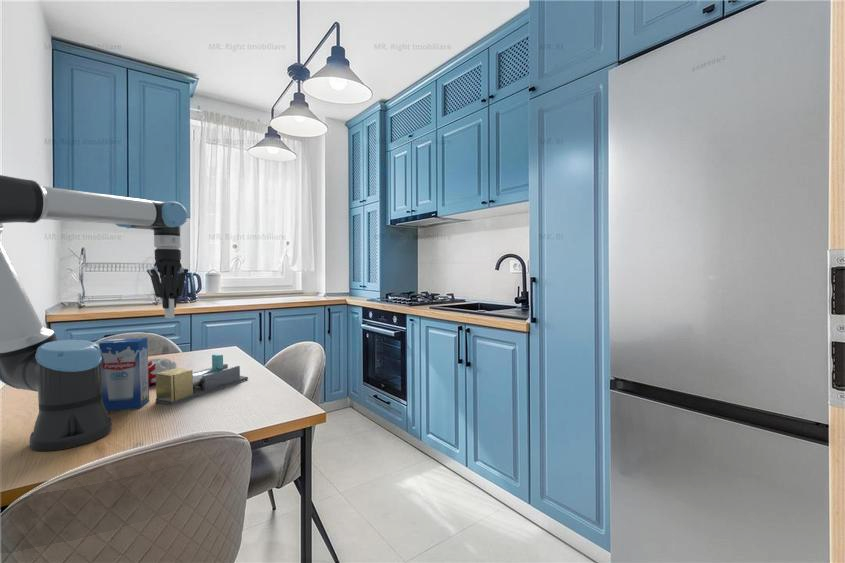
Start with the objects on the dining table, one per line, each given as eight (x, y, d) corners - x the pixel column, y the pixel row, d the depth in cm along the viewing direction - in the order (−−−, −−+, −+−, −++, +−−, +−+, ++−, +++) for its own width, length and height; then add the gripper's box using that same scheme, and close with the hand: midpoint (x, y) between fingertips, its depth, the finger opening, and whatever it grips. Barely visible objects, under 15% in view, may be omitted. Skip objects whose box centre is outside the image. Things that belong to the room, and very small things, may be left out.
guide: (171, 401, 118) (171, 375, 118) (156, 398, 121) (155, 373, 121) (239, 379, 142) (239, 357, 141) (225, 377, 144) (225, 355, 144)
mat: (172, 405, 118) (172, 402, 118) (155, 401, 121) (155, 398, 121) (247, 379, 145) (247, 376, 145) (232, 377, 148) (232, 374, 148)
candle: (179, 376, 147) (151, 394, 132) (149, 376, 147) (118, 394, 132) (176, 353, 145) (148, 369, 131) (147, 353, 146) (115, 368, 131)
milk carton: (101, 411, 113) (98, 343, 112) (111, 404, 119) (109, 339, 118) (141, 408, 116) (138, 341, 115) (149, 401, 122) (147, 337, 121)
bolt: (181, 392, 123) (180, 365, 123) (173, 390, 125) (172, 364, 124) (223, 378, 137) (223, 354, 137) (215, 377, 139) (215, 353, 138)
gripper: (155, 247, 125) (157, 321, 126) (193, 249, 137) (195, 316, 138) (140, 248, 128) (142, 319, 129) (178, 249, 140) (180, 315, 141)
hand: (169, 317), depth 133 cm, fingers closed
